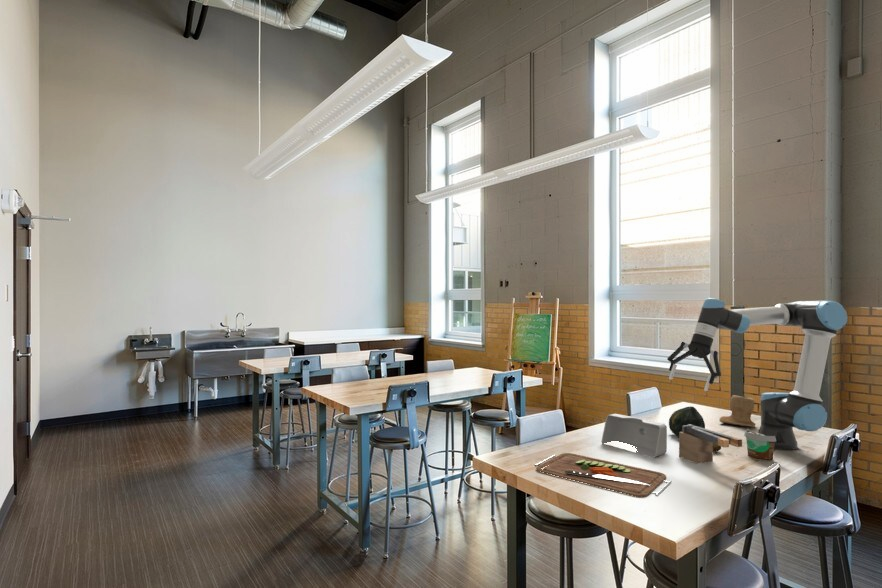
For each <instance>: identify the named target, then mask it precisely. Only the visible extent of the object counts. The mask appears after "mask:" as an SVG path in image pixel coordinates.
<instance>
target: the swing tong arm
mask: <svg viewBox="0 0 882 588" xmlns="http://www.w3.org/2000/svg"><path fill="white" fill-rule="evenodd" d="M686 432H687V433H690V434H692V435H695V436H697V437H700V438H702V439H705V440H707V441H709V442H712V443H714V444H717V445H719V446H721V448H730V444H729V440H728V439H725V438H722V437H719V436H716V435H714V434H711V433H709V432H706V431H703V430H701V429H698V428H695V427H693V425H691V424H688V426H686Z"/></svg>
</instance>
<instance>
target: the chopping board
mask: <svg viewBox="0 0 882 588" xmlns="http://www.w3.org/2000/svg"><path fill="white" fill-rule="evenodd" d="M549 459H550V460H549ZM547 460H548V461H547ZM545 461H546V462H545ZM543 462H544V463H543ZM541 463H542V464H541ZM538 464H540V465H539V466H535V465H538ZM548 465H549V466H548ZM534 466H535V470H536V469H537V470H538V471H541V472H544V473H548V474H552V475H555V476H559V477H563V478H567V479H571V480H575V481H579V482H583V483H587V484H590V485H589V486H591V485H594V486H593V487H595V486H598V487H597V488H599V487H601V488H600V489H603V488H606V489H605V490H607V489H610V490H609V491H611V490H614V491H613V492H615V491H617V492H616V493H619V492H622V493H621V494H623V493H626V494H625V495H627V494H629V495H628V496H631V495H633V496H632V497H635V496H636V498H646V497H648V496H650V494H653V495H654V496H656V497H658V496H659V495H660V494H662V492H664V490H666V489H667V488H668V486H670V484H672V483H671V482H672V480H668V481H667V474H665V473H663V472H660V471H659V472H658V471H655V470H651V469H646V468H642V467H636V466H631V465H628V464H627V465H626V464H624V463H619V462H618V463H617V462H613V461H608V460H604V459H600V458H595V457H590V456H587V455H586V456H585V455H581V454H576V453H571V452H563V453H560V454H559V455H557V456H556V454H553V455H550V456H549V457H547V458H545V459H544V460H541V461H539V462H538V463H535V464H534ZM545 466H547V467H545ZM543 467H545V468H544V469H543V470H542V469H541V468H543ZM537 470H536V471H537ZM538 471H537V472H538ZM555 476H554V477H555ZM559 477H558V478H559ZM563 478H562V479H563ZM567 479H566V480H567ZM571 480H570V481H571ZM575 481H574V482H575ZM579 482H578V483H579ZM583 483H582V484H583ZM662 483H665V484H664V486H663V487H661V489H660V490H658V491H657V492H654V491H655V489H657V488H658V487H659V486H660V485H661V484H662ZM587 484H586V485H587Z"/></svg>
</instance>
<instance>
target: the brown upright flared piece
mask: <svg viewBox="0 0 882 588" xmlns="http://www.w3.org/2000/svg"><path fill="white" fill-rule="evenodd" d="M729 402H730V408H731V415H729V416H728V415H727V416H721V417H719V422H720V423H722V424H726V425H732V426H738V425H739V426H738V427H755V426H756V423H755V422H754V421H752V420H751V417H752V414H753V413H754V412H753V411H754V410H755V400H754V398H752V397H749V396H748V397H746V396H740V395H735V394H733V395H732V396H731V397H730V401H729Z"/></svg>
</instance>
